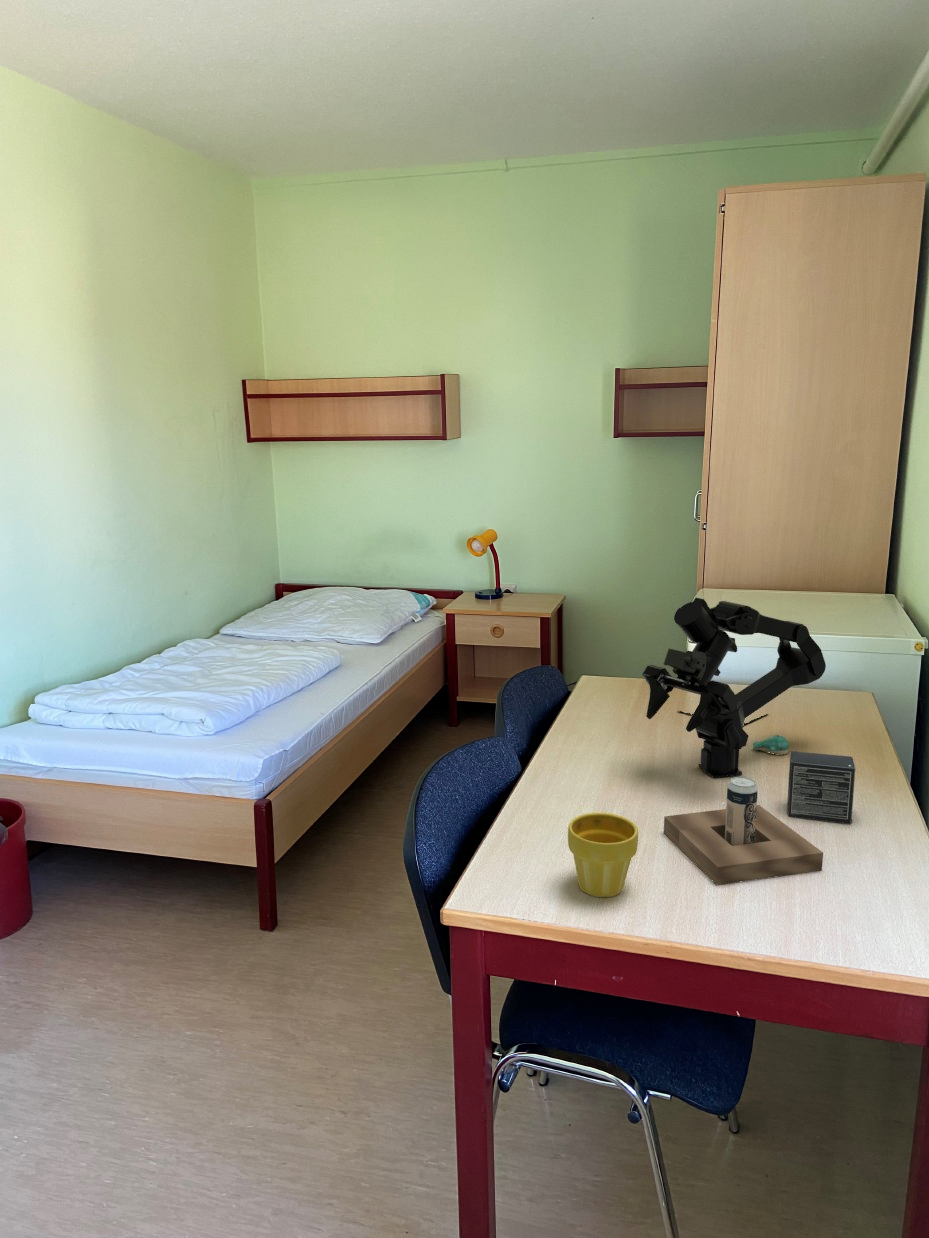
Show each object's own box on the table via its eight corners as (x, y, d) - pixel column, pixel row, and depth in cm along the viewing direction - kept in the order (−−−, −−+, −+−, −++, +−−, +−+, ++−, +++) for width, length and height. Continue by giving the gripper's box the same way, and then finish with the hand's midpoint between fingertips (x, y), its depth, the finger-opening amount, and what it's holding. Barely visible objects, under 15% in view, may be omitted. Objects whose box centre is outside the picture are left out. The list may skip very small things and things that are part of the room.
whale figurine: (789, 758, 180) (790, 741, 180) (752, 755, 183) (753, 738, 182) (787, 749, 186) (789, 732, 185) (752, 745, 188) (753, 729, 187)
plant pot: (644, 902, 126) (646, 841, 124) (574, 906, 125) (575, 844, 123) (626, 868, 136) (627, 810, 134) (561, 871, 136) (562, 813, 133)
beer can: (753, 859, 139) (757, 789, 136) (722, 854, 140) (726, 785, 138) (755, 845, 143) (759, 777, 140) (725, 841, 145) (728, 774, 142)
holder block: (758, 820, 152) (759, 804, 151) (821, 870, 135) (823, 852, 134) (663, 832, 148) (664, 816, 147) (717, 885, 131) (718, 866, 130)
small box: (848, 809, 156) (853, 755, 154) (852, 825, 150) (857, 768, 148) (786, 802, 159) (790, 748, 157) (787, 817, 153) (791, 761, 151)
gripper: (649, 624, 168) (609, 689, 164) (732, 641, 154) (690, 713, 150) (674, 656, 175) (636, 720, 170) (755, 676, 160) (715, 746, 156)
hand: (667, 724), depth 161 cm, fingers open, 9 cm apart
